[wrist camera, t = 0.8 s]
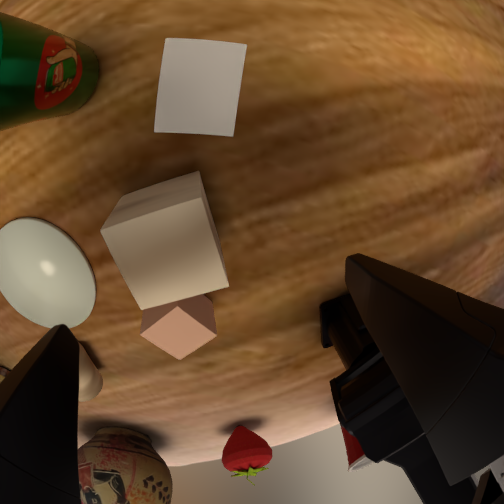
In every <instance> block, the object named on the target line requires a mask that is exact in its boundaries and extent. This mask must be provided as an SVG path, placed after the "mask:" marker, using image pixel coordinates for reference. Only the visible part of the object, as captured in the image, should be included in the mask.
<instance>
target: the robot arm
mask: <svg viewBox="0 0 504 504" xmlns="http://www.w3.org/2000/svg"><path fill="white" fill-rule="evenodd" d="M345 282H346V285H347V288H348V290H349V292H350V294H349V295H346V296H344V297H341V298H338V299H335V300H332V301H329V302H326V303H324V304H322V305H321V306H320V322H321V342H322V346H323V348H328V347H331V346H333V345H334V347H335V349H336V351H337V353H338V355H339V357H340V359H341V360H342V362H343V364H344V366H345V368H346V371H345V372H343V373H342V374H341V375H339V376H338V377H336V378H333V379H332V380H331V381H330V386H331V392H332V396H333V400H334V404H335V408H336V412H337V417H338V420H339V422H340V425H341V426H342V427H343V428H345V429H346V430H347V431H348V433H350V434H351V435H352V436H354V437H356V439H357V440H358V442H359V444H360V446H361V448H362V450H363V452H364V454H365V456H366V457H367V458H368V459H370V460H372V461H373V462H375V463H379V462H380V461H382V460H384V461H387V462H389V463H392V464H394V465H397V466H399V467H401V468H402V469H403V470H404V472H405V473H406V475H407V477H408V478H409V480H410V482H411V483H412V485H413V487H414V488H415V490H416V492H417V494H418V495H419V497H420V499H421V500H422V502H423V504H504V309H502V308H499V307H496V306H494V305H491V304H488V303H485V302H482V301H480V300H477V299H475V298H472V297H470V296H467V295H465V294H463V293H460V292H456V291H455V290H453V289H450V288H448V287H445V286H443V285H440V284H438V283H436V282H433V281H431V280H428V279H425V278H423V277H420V276H418V275H415V274H413V273H410V272H408V271H405V270H402V269H400V268H397V267H395V266H392V265H389V264H387V263H384V262H381V261H379V260H376V259H373V258H371V257H368V256H365V255H363V254H360V253H357V254H354V255H350V256H348V257H347V258H346V263H345ZM79 354H80V346H79V342H78V340H77V339H76V338H75V336H74V335H73V333H72V332H71V331H70V329H69V328H68V326H67V325H65V324H59V325H55V326H53V327H52V328H51V329H50V330H49V331H48V332H47V333H46V334H45V335H44V336H43V337H42V338H41V339H40V340H39V341H38V342H37V344H36V345H35V346H34V347H33V348H32V349H31V350H30V351H29V352H28V353H27V354H26V355H25V356H24V357H23V358H22V359H21V360H20V362H19V363H18V364H17V365H16V366H15V367H14V368H13V369H12V370H11V371H10V373H9V374H8V375H7V376H6V377H5V378H4V379H3V380H2V382H1V383H0V504H82V502H81V494H80V484H79V470H78V441H77V431H78V401H79ZM487 465H489V467H490V469H488V470H487V471H486V472H485V473H483V474H482V475H481V477H480V480H479V482H478V480H477V478H476V477H475V475H474V473H476V472H478V471H479V470H481V469H483V468H484V467H486V466H487Z"/></svg>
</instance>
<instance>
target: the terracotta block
mask: <svg viewBox="0 0 504 504" xmlns="http://www.w3.org/2000/svg"><path fill="white" fill-rule="evenodd" d="M140 335H141V336H143V337H144V338H146V339H147V340H149V341H150V342H152V343H153V344H155V345H156V346H158V347H159V348H161V349H163V350H164V351H166V352H167V353H169V354H171V355H172V356H174V357H175V358H177V359H179V360H180V359H182V358H184V357H185V356H187V355H188V354H190V353H191V352H193V351H194V350H196V349H198V348H199V347H201V346H202V345H204V344H205V343H207V342H208V341H210V340H211V339H213V338H214V337H216V336H217V331H216V324H215V318H214V310H213V303H212V301H211V300H209V299H208V298H207V297H206V296H205V295H203V294H200V295H196V296H193V297H189V298H185V299H182V300H178V301H174V302H170V303H167V304H163V305H159V306H155V307H151V308H147V309H143V316H142V323H141V331H140Z"/></svg>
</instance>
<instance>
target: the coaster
mask: <svg viewBox="0 0 504 504" xmlns="http://www.w3.org/2000/svg"><path fill="white" fill-rule="evenodd" d="M0 290H1V292H2V294H3V295H4V297H5V298H6V299H7V301H8V302H9V303H10V304H11V305H12V306H13V307H14V308H15V309H16V310H17V311H18V312H19V313H20V314H22V315H23V316H24V317H26V318H27V319H29V320H31V321H32V322H34V323H37V324H39V325H42V326H45V327H48V328H52V327H53V326H55V325H59V324H65V325H67V326H68V328H71V327H75V326H77V325H79V324H81V323H82V322H83V321H85V319H86V318H87V317H88V316H89V314H90V313H91V311H92V309H93V306H94V303H95V299H96V282H95V277H94V273H93V271H92V268H91V266H90V263H89V261H88V259H87V258H86V256H85V254H84V253H83V251H82V250H81V249H80V247H79V246H78V245H77V244H76V243H75V241H74V240H73V239H72V238H71V237H70V236H69V235H67V234H66V233H65V232H64V231H62V230H61V229H60V228H58V227H57V226H55V225H53V224H51V223H49V222H47V221H45V220H42V219H38V218H32V217H22V218H18V219H15V220H13V221H10V222H9V223H8V224H6V225H5V226H4V227H3V228H2V229H1V230H0Z"/></svg>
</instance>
